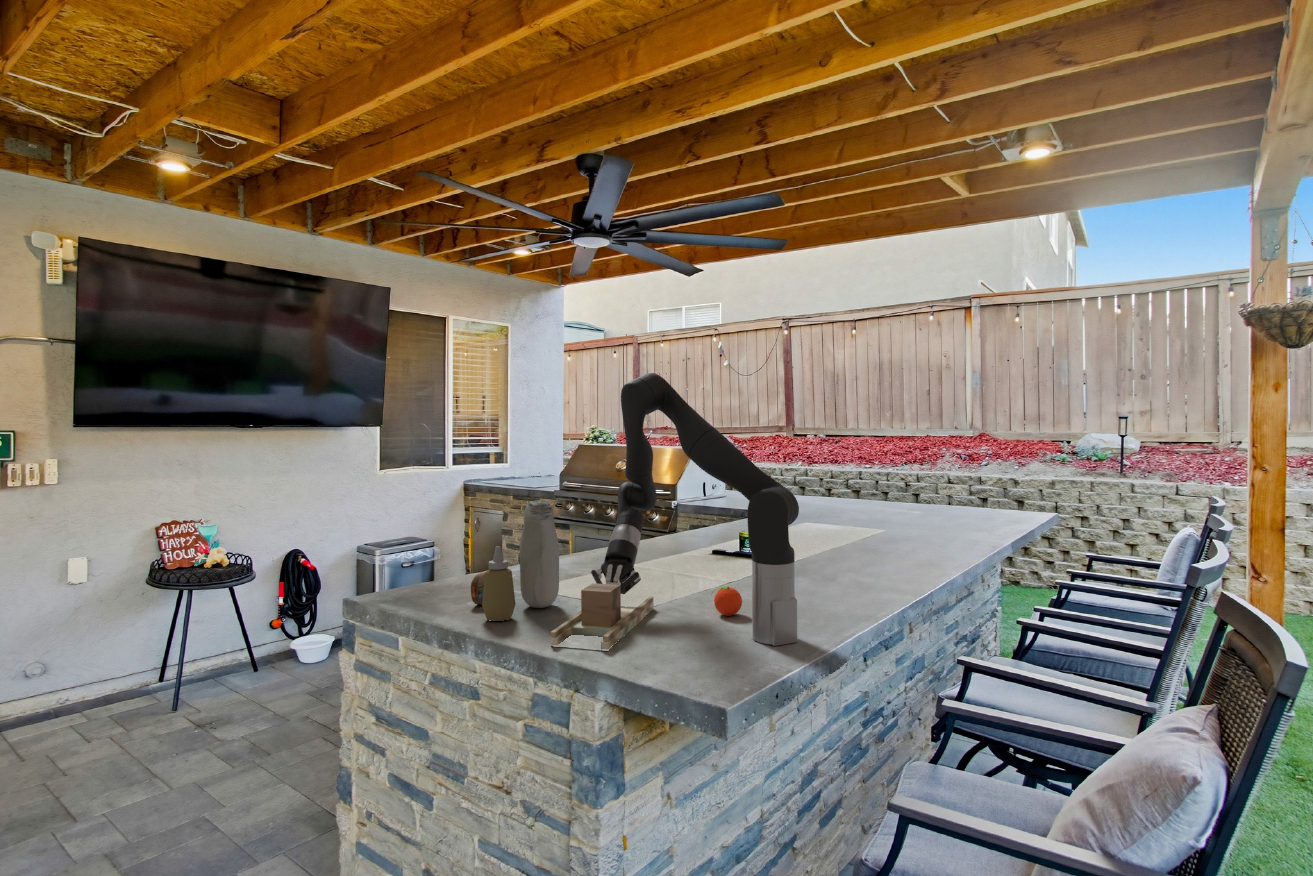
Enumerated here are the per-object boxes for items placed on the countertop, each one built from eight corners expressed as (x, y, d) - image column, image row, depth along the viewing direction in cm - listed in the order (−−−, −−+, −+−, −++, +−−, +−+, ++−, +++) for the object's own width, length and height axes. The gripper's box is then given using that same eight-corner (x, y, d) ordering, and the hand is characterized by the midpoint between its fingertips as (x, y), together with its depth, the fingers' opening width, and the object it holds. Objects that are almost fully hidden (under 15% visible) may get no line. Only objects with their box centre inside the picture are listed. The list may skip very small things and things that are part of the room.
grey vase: (563, 609, 174) (562, 501, 174) (524, 613, 171) (522, 503, 170) (554, 600, 184) (553, 497, 183) (517, 604, 180) (515, 499, 179)
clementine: (706, 616, 166) (705, 588, 166) (715, 609, 173) (715, 582, 173) (737, 620, 163) (736, 591, 163) (745, 613, 169) (745, 584, 169)
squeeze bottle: (502, 613, 172) (501, 542, 171) (522, 618, 166) (521, 545, 166) (475, 620, 165) (474, 547, 165) (495, 626, 160) (494, 550, 160)
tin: (479, 609, 176) (478, 576, 176) (468, 608, 177) (468, 576, 177) (508, 595, 190) (508, 565, 190) (499, 594, 191) (498, 564, 191)
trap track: (606, 605, 177) (606, 593, 177) (653, 609, 174) (653, 596, 174) (550, 646, 145) (550, 631, 145) (607, 651, 141) (607, 636, 141)
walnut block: (592, 616, 160) (592, 583, 160) (620, 618, 158) (620, 585, 158) (581, 625, 153) (581, 590, 153) (610, 627, 151) (610, 592, 151)
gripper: (651, 556, 172) (637, 617, 160) (602, 554, 176) (585, 613, 164) (645, 539, 167) (630, 600, 155) (595, 537, 170) (576, 597, 159)
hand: (607, 607), depth 160 cm, fingers closed
